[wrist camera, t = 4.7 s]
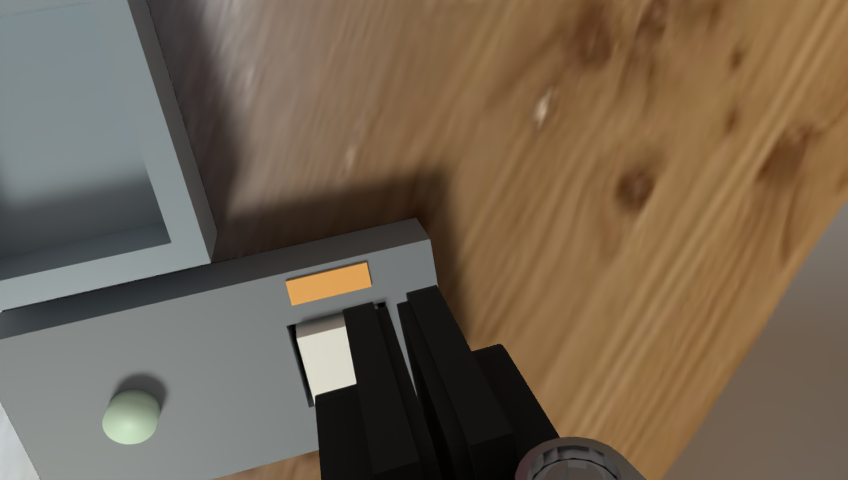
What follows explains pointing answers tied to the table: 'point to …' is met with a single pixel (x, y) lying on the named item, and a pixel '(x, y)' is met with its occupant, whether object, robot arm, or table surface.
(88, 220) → the frame
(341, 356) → the breaker button
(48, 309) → the breaker panel
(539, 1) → the table surface
